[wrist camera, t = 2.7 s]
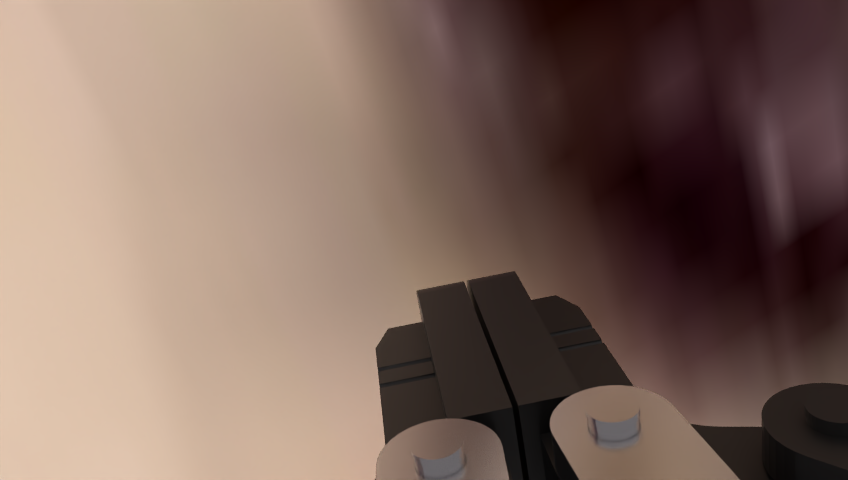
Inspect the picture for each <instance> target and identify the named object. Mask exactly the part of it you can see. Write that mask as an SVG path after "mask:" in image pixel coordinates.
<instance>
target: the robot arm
mask: <svg viewBox="0 0 848 480" xmlns="http://www.w3.org/2000/svg"><path fill="white" fill-rule="evenodd" d="M417 297H418V303H419V308H420V314H421V319H422V322H420V323H415V324H410V325H405V326H400V327H395V328H390V329H388V330H387V331H386V333H385V334H384V336H383V338H382V339H381V341H380V342H379V344H378V346H377V347H376V356H377V366H378V375H379V385H380V395H381V405H382V415H383V425H384V435H385V446H384V448H383V449H382V451H381V452H380V454H379V457H378V459H377V464H376V479H375V480H848V385H842V384H832V383H812V384H804V385H798V386H794V387H790V388H788V389H785V390H782V391H780V392H778V393H777V394H775V395H773V396H772V397H771V398H770V399H769V400H768V401H767V402H766V403H765V405H764V407H763V410H762V427H712V426H701V425H694V424H690V423H689V422H688V421H687V420H686V419H685V418H684V417H683V416H682V415H681V413H680V412H679V411H678V410H677V409H676V408H675V407H674V406H673V405H672V404H671V403H670V402H669V401H668V400H667V399H665V398H664V397H662V396H660V395H659V394H656V393H654V392H652V391H649V390H646V389H643V388H638V387H634V386H633V385H632V383H631V382H630V381H629V379H628V378H627V376H626V375H625V373H624V372H623V370H622V369H621V367H620V366H619V364H618V363H617V361H616V360H615V359H614V357H613V356H612V354H611V353H610V351H609V350H608V348H607V347H606V345H605V344H604V343H602V341H601V338H600V337H599V335H598V334H597V332H596V331H595V329H594V328H593V329H592V325H591V323H590V322H589V320H588V319H587V318H586V316H585V315H584V313H583V312H582V310H581V309H580V307H578V306H576V305H574V304H572V303H570V302H568V301H566V300H564V299H562V298H560V297H558V296H556V295H555V296H550V297H545V298H540V299H535V300H531V299H530V297H529V296H528V294H527V292H526V290H525V288H524V287H523V285H522V283H521V281H520V279H519V278H518V276H517V274H516V273H515V272H514V271H513V272H508V273H503V274H498V275H493V276H488V277H483V278H477V279H472V280H467V288H466V286H465V283H464V282H458V283H453V284H448V285H443V286H438V287H433V288H427V289H422V290H417Z"/></svg>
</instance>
